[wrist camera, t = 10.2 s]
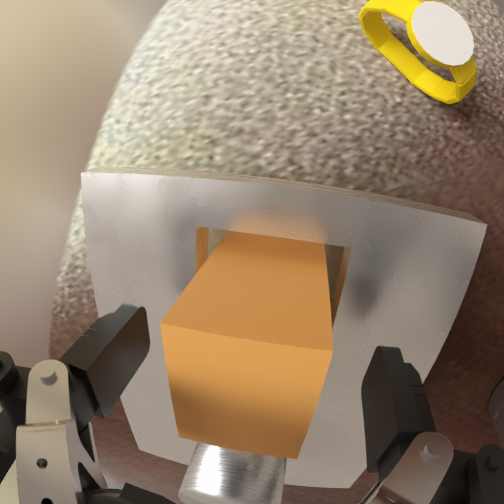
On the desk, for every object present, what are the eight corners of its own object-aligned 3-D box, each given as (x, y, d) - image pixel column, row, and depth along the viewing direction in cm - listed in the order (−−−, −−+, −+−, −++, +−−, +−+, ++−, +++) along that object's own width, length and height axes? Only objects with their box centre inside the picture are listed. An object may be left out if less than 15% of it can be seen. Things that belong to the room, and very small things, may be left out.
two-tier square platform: (444, 193, 15) (593, 298, 4) (355, 431, 23) (355, 551, 12) (137, 154, 17) (-39, 208, 6) (159, 398, 25) (103, 502, 14)
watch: (448, 83, 13) (510, 79, 7) (421, 112, 14) (478, 117, 8) (372, 5, 11) (407, -38, 6) (341, 33, 13) (366, -5, 7)
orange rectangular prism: (321, 220, 16) (333, 351, 6) (308, 304, 17) (296, 459, 8) (244, 211, 16) (160, 322, 7) (239, 294, 18) (178, 436, 9)
